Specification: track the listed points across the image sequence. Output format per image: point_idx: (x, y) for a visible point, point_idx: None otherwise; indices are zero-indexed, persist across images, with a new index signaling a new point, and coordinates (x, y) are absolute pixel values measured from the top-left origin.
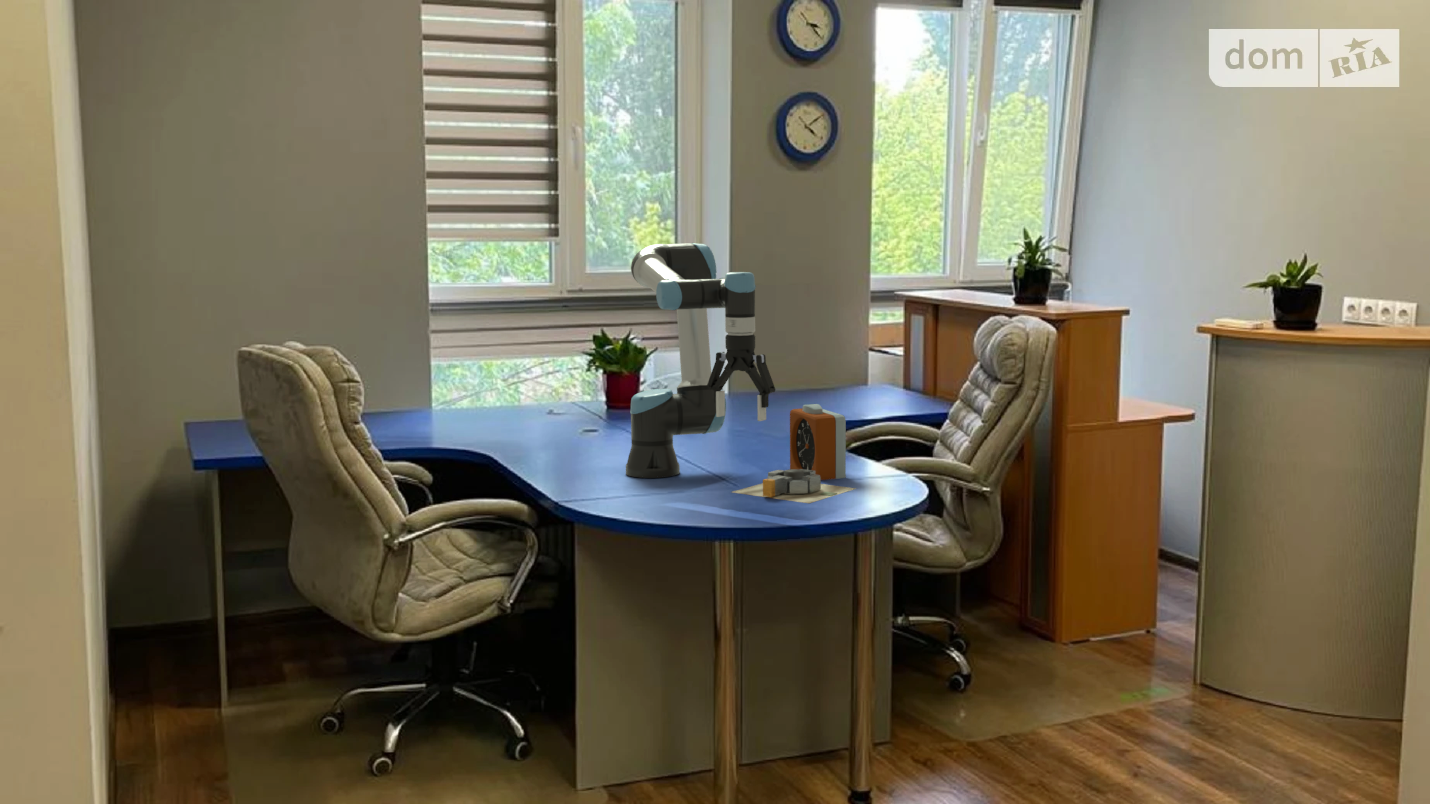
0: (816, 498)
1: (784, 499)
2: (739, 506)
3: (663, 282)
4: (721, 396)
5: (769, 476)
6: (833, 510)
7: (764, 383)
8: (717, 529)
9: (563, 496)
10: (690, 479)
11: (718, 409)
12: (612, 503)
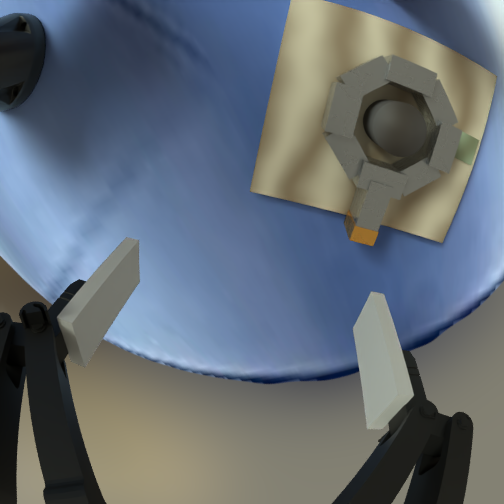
0: (450, 196)
1: (392, 225)
2: (304, 254)
3: None
4: (93, 325)
5: (332, 141)
6: (475, 230)
7: (416, 486)
8: (324, 380)
9: (31, 273)
10: (80, 56)
11: (125, 302)
12: None
